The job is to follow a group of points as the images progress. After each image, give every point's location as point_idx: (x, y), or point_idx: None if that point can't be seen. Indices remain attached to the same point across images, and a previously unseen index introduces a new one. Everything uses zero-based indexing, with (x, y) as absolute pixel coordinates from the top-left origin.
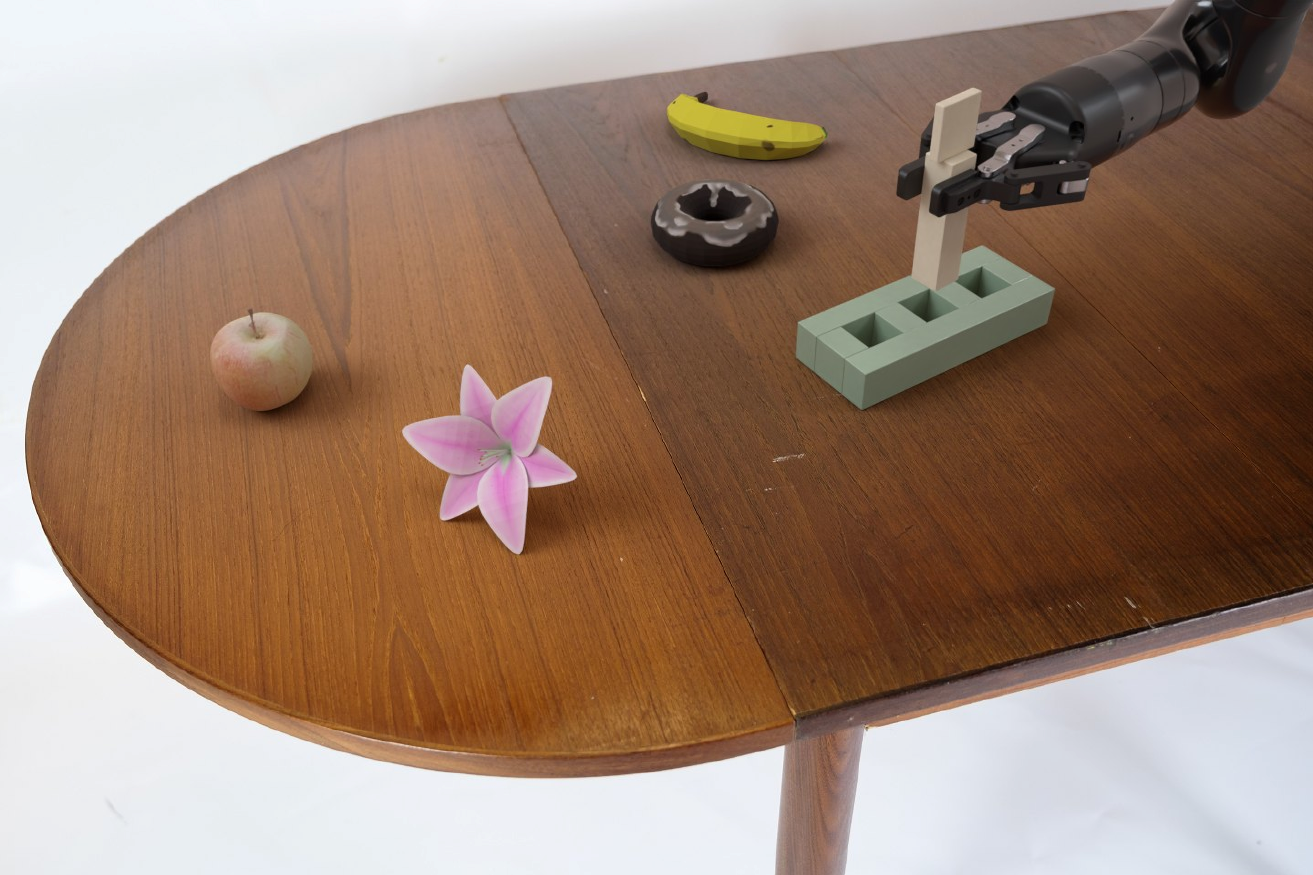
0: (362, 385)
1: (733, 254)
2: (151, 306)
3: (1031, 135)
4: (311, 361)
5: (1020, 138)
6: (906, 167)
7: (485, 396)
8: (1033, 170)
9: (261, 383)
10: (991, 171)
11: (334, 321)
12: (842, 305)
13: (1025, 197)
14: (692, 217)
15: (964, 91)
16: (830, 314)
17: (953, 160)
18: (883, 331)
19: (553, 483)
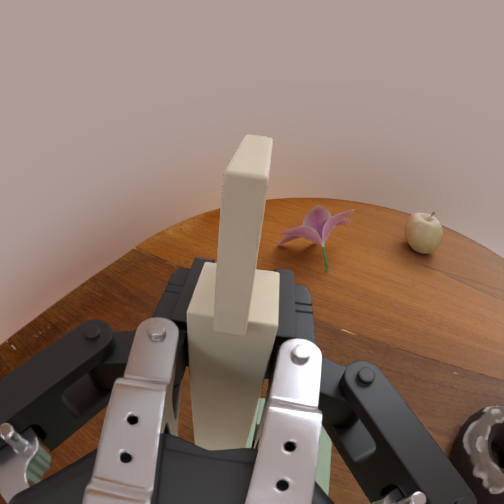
0: (414, 265)
1: (456, 446)
2: (479, 252)
3: (103, 488)
4: (420, 241)
5: (134, 470)
6: (290, 274)
7: (338, 216)
8: (58, 365)
9: (406, 222)
10: (142, 326)
11: (460, 278)
12: (328, 455)
13: (83, 397)
14: (498, 422)
15: (267, 162)
16: (323, 437)
17: (215, 272)
18: None
19: (285, 234)
